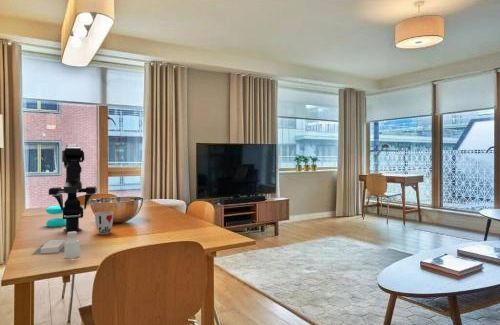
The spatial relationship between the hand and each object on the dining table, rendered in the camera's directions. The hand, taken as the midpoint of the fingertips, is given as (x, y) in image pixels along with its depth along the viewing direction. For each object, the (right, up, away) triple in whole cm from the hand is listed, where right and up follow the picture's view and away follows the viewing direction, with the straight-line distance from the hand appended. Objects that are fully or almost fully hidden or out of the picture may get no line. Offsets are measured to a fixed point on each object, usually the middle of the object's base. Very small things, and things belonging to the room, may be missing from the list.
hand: (73, 209), depth 158 cm
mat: (+1, -14, -17) cm, 22 cm away
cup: (+9, -13, +11) cm, 19 cm away
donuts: (-23, -12, +28) cm, 38 cm away
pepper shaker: (+14, -14, -28) cm, 34 cm away
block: (0, -12, -12) cm, 17 cm away
